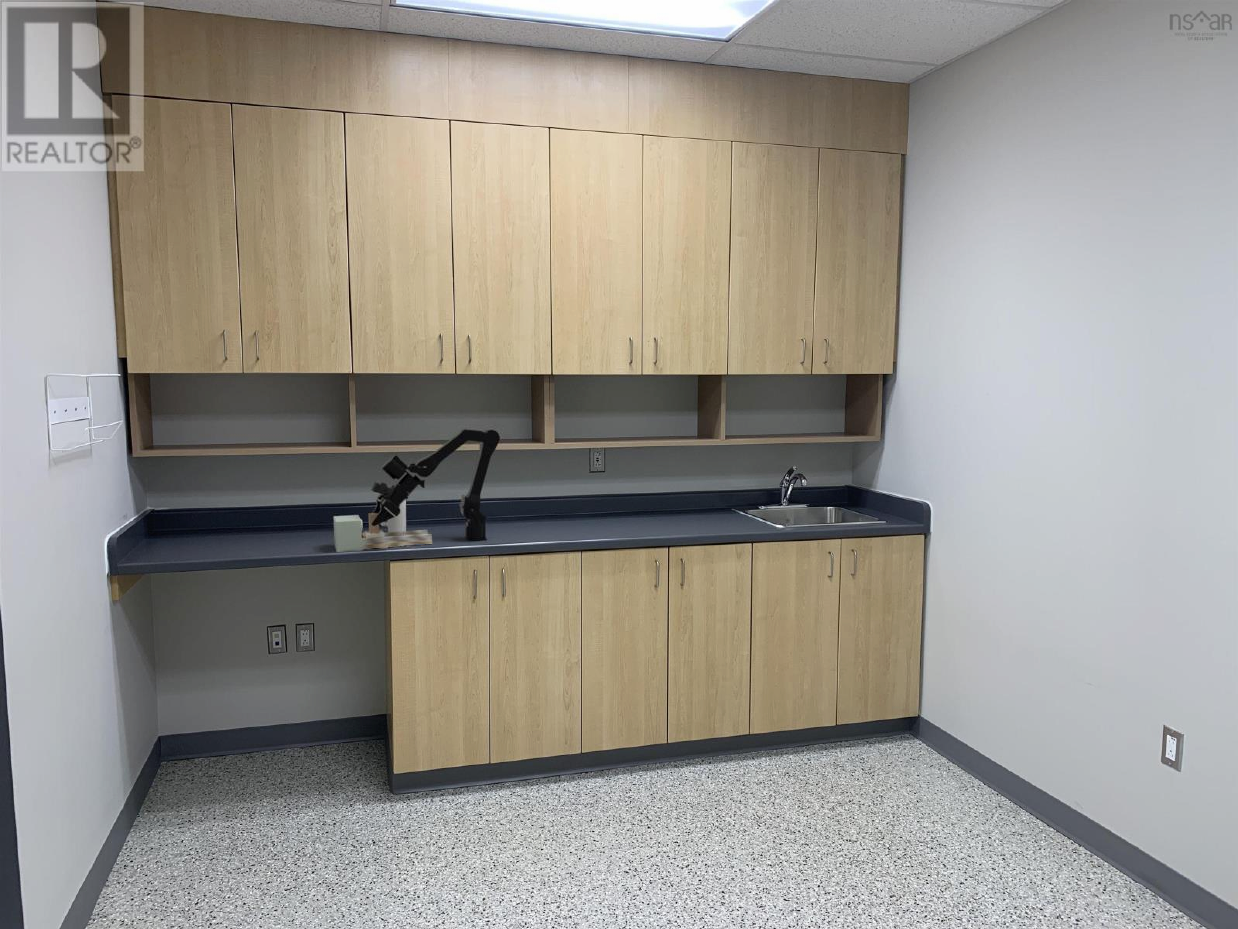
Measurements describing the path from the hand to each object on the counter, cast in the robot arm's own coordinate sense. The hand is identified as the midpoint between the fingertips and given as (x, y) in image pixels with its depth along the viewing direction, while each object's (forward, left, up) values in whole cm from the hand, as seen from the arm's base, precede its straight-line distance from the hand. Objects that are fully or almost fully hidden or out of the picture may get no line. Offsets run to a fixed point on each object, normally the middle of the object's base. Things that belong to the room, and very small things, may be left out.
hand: (370, 523), depth 281 cm
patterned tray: (-8, 0, -8) cm, 11 cm away
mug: (-9, -21, -8) cm, 24 cm away
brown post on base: (-1, 0, -6) cm, 6 cm away
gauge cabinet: (+7, 0, -8) cm, 11 cm away
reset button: (+5, 0, -6) cm, 8 cm away
